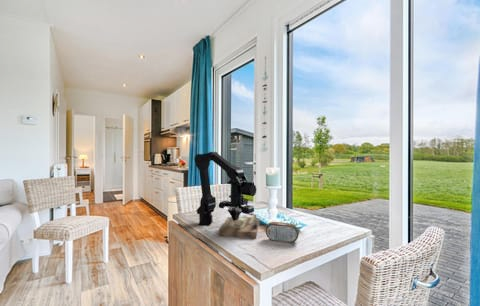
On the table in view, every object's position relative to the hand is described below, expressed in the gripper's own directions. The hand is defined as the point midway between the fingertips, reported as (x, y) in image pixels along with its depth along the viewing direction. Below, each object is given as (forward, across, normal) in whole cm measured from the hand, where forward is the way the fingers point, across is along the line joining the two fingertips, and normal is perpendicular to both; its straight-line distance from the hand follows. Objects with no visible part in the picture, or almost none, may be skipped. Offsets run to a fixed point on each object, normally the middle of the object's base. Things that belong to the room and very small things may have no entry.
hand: (235, 223), depth 121 cm
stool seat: (+4, -1, -4) cm, 6 cm away
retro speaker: (+4, -25, -2) cm, 25 cm away
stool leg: (+1, -3, -4) cm, 6 cm away
